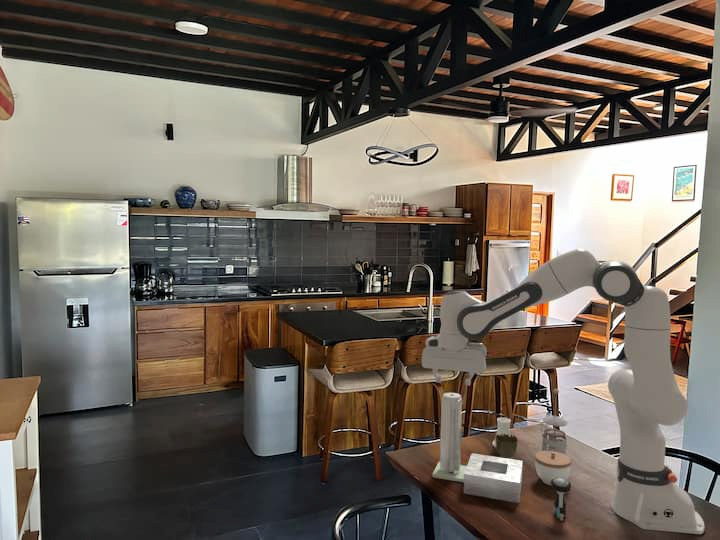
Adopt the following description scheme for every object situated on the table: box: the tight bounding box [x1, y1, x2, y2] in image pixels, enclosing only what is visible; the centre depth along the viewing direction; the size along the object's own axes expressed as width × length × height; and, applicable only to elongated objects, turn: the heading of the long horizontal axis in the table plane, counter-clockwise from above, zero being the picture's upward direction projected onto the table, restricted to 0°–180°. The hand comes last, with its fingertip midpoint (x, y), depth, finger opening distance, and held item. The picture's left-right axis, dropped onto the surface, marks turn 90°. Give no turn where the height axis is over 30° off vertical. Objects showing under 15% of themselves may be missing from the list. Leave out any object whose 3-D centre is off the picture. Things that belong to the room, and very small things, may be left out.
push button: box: [550, 477, 572, 521], centre depth 146 cm, size 7×5×10 cm
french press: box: [540, 388, 569, 455], centre depth 182 cm, size 10×12×25 cm
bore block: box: [463, 452, 524, 504], centre depth 162 cm, size 16×16×6 cm
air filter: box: [439, 392, 463, 474], centre depth 170 cm, size 6×6×25 cm
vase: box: [492, 417, 512, 448], centre depth 193 cm, size 8×8×10 cm
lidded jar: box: [534, 450, 572, 486], centre depth 166 cm, size 11×11×9 cm
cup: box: [494, 433, 519, 459], centre depth 181 cm, size 8×7×8 cm
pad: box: [431, 461, 467, 483], centre depth 171 cm, size 10×10×1 cm
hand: (453, 383), depth 169 cm, fingers open, 8 cm apart
